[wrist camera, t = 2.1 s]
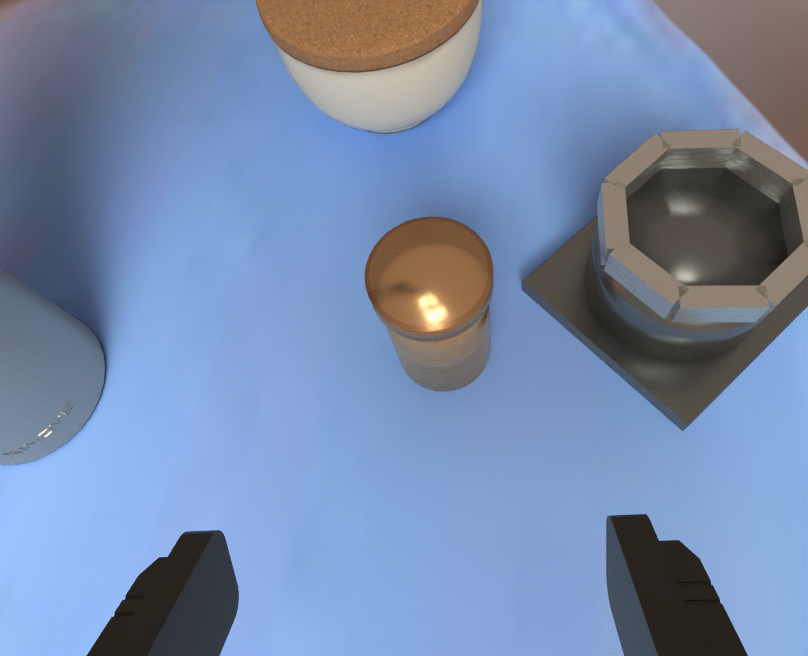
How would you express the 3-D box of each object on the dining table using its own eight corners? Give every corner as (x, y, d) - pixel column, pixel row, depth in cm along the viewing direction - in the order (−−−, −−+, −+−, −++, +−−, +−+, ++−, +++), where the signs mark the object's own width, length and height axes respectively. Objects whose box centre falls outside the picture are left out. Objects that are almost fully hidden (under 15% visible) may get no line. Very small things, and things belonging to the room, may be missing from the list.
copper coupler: (375, 347, 35) (339, 271, 27) (446, 285, 36) (432, 194, 28) (441, 415, 33) (423, 356, 25) (514, 348, 34) (520, 270, 26)
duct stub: (522, 289, 35) (528, 216, 29) (655, 171, 37) (691, 75, 30) (682, 430, 31) (735, 384, 25) (823, 289, 33) (908, 210, 26)
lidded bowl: (299, 36, 45) (244, -124, 35) (475, 8, 44) (469, -165, 34) (300, 180, 40) (236, 43, 30) (498, 153, 39) (499, 0, 29)
